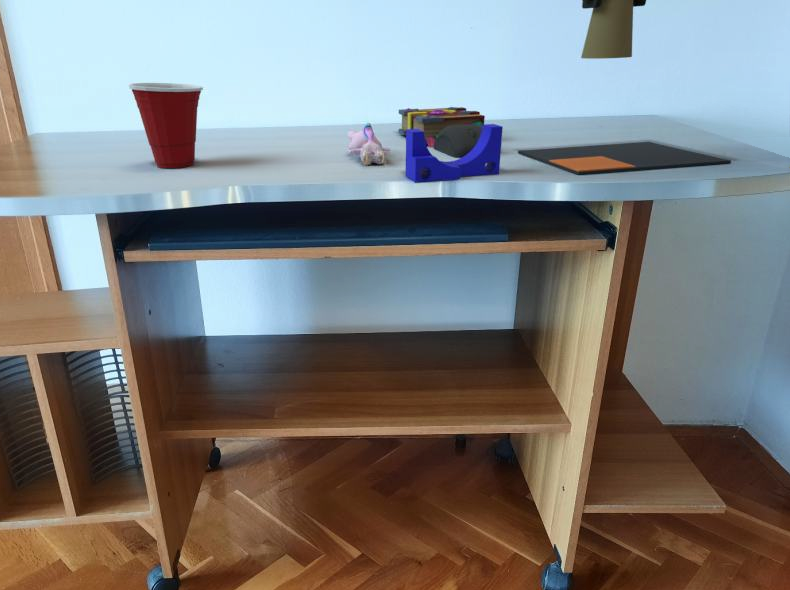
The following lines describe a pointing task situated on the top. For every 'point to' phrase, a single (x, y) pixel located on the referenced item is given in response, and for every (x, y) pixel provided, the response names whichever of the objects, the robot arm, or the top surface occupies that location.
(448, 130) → the computer mouse
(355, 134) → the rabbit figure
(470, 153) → the blue cradle bracket
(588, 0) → the robot arm
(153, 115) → the plastic cup
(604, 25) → the cork
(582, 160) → the desk mat
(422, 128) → the decorative book
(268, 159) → the top surface
